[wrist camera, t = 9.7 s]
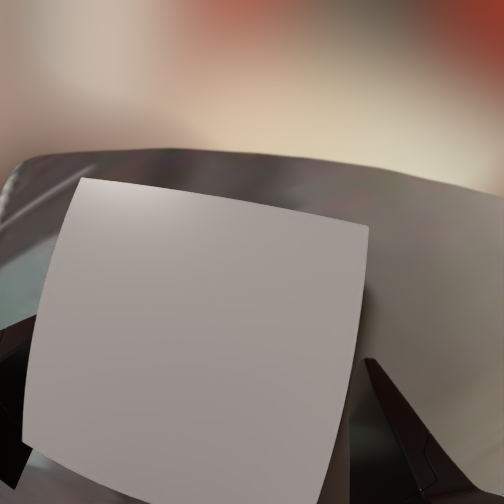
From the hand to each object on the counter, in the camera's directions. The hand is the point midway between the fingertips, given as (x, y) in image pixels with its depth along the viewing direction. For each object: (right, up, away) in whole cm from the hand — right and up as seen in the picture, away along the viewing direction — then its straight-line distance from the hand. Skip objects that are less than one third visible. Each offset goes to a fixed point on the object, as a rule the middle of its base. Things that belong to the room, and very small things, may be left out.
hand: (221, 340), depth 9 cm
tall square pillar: (0, -3, +8) cm, 8 cm away
